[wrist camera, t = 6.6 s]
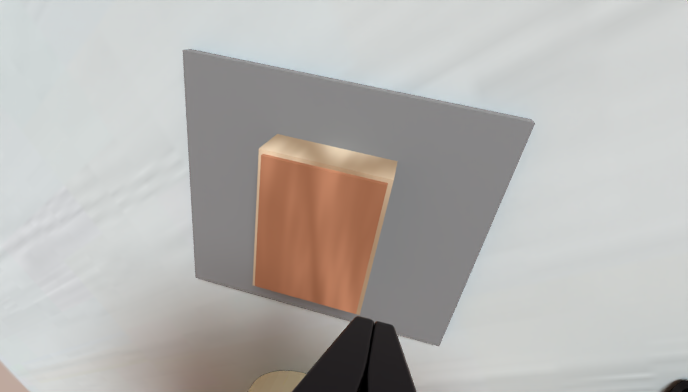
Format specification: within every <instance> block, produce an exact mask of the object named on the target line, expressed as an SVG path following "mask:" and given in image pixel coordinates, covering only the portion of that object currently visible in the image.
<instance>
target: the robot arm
mask: <svg viewBox="0 0 688 392" xmlns="http://www.w3.org/2000/svg"><path fill="white" fill-rule="evenodd" d="M292 392H416V389H415V386H414V383H413V380H412V377H411V374H410V371H409V368H408V365H407V362H406V359H405V356H404V353H403V351H402V348H401V345H400V342H399V339H398V336H397V333H396V330H395V328H394V326H393V325H391V324H388V323H384V322H380V321H376V322H375V323H374V321H373V320H372V319H369V318H365V317H361V316H356V317H355V318H354V319H353V320H352V321H351V322H350V323H349V325H348V326H347V327H346V328H345V329H344V331H343V332H342V333H341V334H340V335H339V336H338V338H337V339H336V340H335V341H334V342H333V343H332V345H331V346H330V347H329V348H328V349H327V351H326V352H325V353H324V354H323V355H322V356H321V358H320V359H319V360H318V361H317V362H316V363H315V365H314V366H313V367H312V368H311V369H310V371H309V372H308V373H307V374H306V375H305V376H304V378H303V379H302V380H301V381H300V382H299V383H298V385H297V386H296V387H295V388H294V389H293V391H292ZM670 392H688V381H683V382H680V383H679V384H677V385H676V386H675V387H674V388H673V389H672V390H671V391H670Z"/></svg>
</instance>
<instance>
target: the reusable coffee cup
mask: <svg viewBox="0 0 688 392" xmlns="http://www.w3.org/2000/svg"><path fill="white" fill-rule="evenodd" d="M305 375H306V374H305V373H301V372H294V371H275V372H270V373H267V374H264V375H262V376H261V377H259V378H258V379H257V380H256V381H255V382H254V383H253V385H252V386H251V388H250V389H249V391H248V392H292V391H293V389H294V388H295V387H296V386H297V385H298V383H299V382H300V381H301V380H302V379H303V378H304V376H305Z"/></svg>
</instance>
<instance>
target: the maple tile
mask: <svg viewBox="0 0 688 392" xmlns="http://www.w3.org/2000/svg"><path fill="white" fill-rule="evenodd" d="M397 162H398V161H394V160H390V159H385V158H381V157H376V156H372V155H368V154H363V153H359V152H354V151H350V150H346V149H341V148H337V147H333V146H328V145H324V144H319V143H315V142H311V141H306V140H302V139H297V138H293V137H289V136H284V135H280V134H277V135H275V136H274V137H273V138H272V139H270V140H269V141H268V142H266V143H265V144H264V145H263V146H261V147H260V148H259V155H258V177H257V199H256V221H255V243H254V265H253V285H254V286H257V287H260V288H264V289H267V290H271V291H275V292H278V293H282V294H285V295H289V296H293V297H296V298H300V299H303V300H307V301H310V302H314V303H318V304H321V305H325V306H328V307H332V308H336V309H339V310H343V311H346V312H350V313H353V314H357V315H360V312H361V308H362V304H363V300H364V296H365V292H366V288H367V284H368V280H369V276H370V272H371V268H372V264H373V260H374V256H375V252H376V249H377V245H378V241H379V237H380V233H381V229H382V225H383V221H384V217H385V213H386V209H387V205H388V201H389V197H390V193H391V189H392V185H393V181H394V177H395V172H396V167H397Z"/></svg>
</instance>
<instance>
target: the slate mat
mask: <svg viewBox="0 0 688 392" xmlns="http://www.w3.org/2000/svg"><path fill="white" fill-rule="evenodd" d="M183 64H184V82H185V99H186V117H187V134H188V152H189V170H190V187H191V205H192V223H193V240H194V258H195V276H196V278H199V279H202V280H206V281H209V282H213V283H216V284H220V285H224V286H227V287H231V288H234V289H238V290H241V291H245V292H248V293H252V294H255V295H259V296H263V297H266V298H270V299H273V300H277V301H280V302H284V303H287V304H291V305H294V306H298V307H302V308H305V309H309V310H312V311H316V312H319V313H323V314H326V315H330V316H333V317H337V318H341V319H344V320H348V321H352V320H353V319H354V318H355V317H356V316H361V317H365V318H369V319H372V320H373V321H374V323H375V322H376V321H380V322H384V323H388V324H391V325H393V326H394V328H395V330H396V333H397V335H401V336H404V337H408V338H412V339H415V340H419V341H422V342H426V343H429V344H433V345H436V346H439V345H440V343H441V341H442V338H443V336H444V334H445V331H446V329H447V327H448V324H449V322H450V320H451V317H452V315H453V313H454V310H455V308H456V306H457V303H458V301H459V299H460V296H461V294H462V292H463V289H464V287H465V285H466V282H467V280H468V278H469V275H470V273H471V271H472V268H473V266H474V264H475V262H476V259H477V257H478V255H479V252H480V250H481V248H482V245H483V243H484V241H485V238H486V236H487V234H488V231H489V229H490V227H491V224H492V222H493V220H494V217H495V215H496V213H497V210H498V208H499V206H500V203H501V201H502V199H503V196H504V194H505V192H506V189H507V187H508V185H509V182H510V180H511V178H512V175H513V173H514V171H515V168H516V166H517V164H518V161H519V159H520V157H521V155H522V152H523V150H524V148H525V145H526V143H527V141H528V138H529V136H530V134H531V131H532V129H533V127H534V124H535V123H534V122H533V121H532V120H531V119H527V118H522V117H517V116H512V115H507V114H503V113H498V112H493V111H488V110H483V109H478V108H473V107H469V106H464V105H459V104H454V103H449V102H444V101H439V100H435V99H430V98H425V97H420V96H415V95H410V94H405V93H401V92H396V91H391V90H386V89H381V88H376V87H371V86H367V85H362V84H357V83H352V82H347V81H342V80H337V79H333V78H328V77H323V76H318V75H313V74H308V73H304V72H299V71H294V70H289V69H284V68H279V67H274V66H270V65H265V64H260V63H255V62H250V61H245V60H240V59H236V58H231V57H226V56H221V55H216V54H211V53H206V52H202V51H197V50H192V49H188V50H183ZM277 134H280V135H284V136H289V137H293V138H297V139H302V140H306V141H311V142H315V143H319V144H324V145H328V146H333V147H337V148H341V149H346V150H350V151H354V152H359V153H363V154H368V155H372V156H376V157H381V158H385V159H390V160H394V161H398V162H397V167H396V172H395V177H394V181H393V185H392V189H391V193H390V197H389V201H388V205H387V209H386V213H385V217H384V221H383V225H382V229H381V233H380V237H379V241H378V245H377V249H376V252H375V256H374V260H373V264H372V268H371V272H370V276H369V280H368V284H367V288H366V292H365V296H364V300H363V304H362V308H361V312H360V315H357V314H353V313H350V312H346V311H343V310H339V309H336V308H332V307H328V306H325V305H321V304H318V303H314V302H310V301H307V300H303V299H300V298H296V297H293V296H289V295H285V294H282V293H278V292H275V291H271V290H267V289H264V288H260V287H257V286H254V285H253V265H254V243H255V221H256V199H257V177H258V155H259V148H260V147H261V146H263V145H264V144H265V143H266V142H268V141H269V140H270V139H272V138H273V137H274V136H275V135H277Z"/></svg>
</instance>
